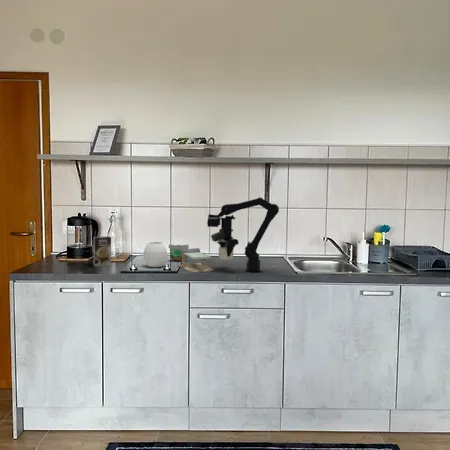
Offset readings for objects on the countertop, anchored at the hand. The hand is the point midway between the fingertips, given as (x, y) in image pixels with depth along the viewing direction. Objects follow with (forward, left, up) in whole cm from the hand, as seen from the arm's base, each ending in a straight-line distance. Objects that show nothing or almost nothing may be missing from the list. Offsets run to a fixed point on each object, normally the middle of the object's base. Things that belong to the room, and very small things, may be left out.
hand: (225, 255), depth 259 cm
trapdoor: (+14, -10, -3) cm, 17 cm away
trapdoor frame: (+14, -10, -8) cm, 19 cm away
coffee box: (+60, -36, -8) cm, 70 cm away
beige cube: (0, 0, -2) cm, 2 cm away
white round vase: (+33, -23, -8) cm, 41 cm away
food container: (+15, -34, -8) cm, 38 cm away
